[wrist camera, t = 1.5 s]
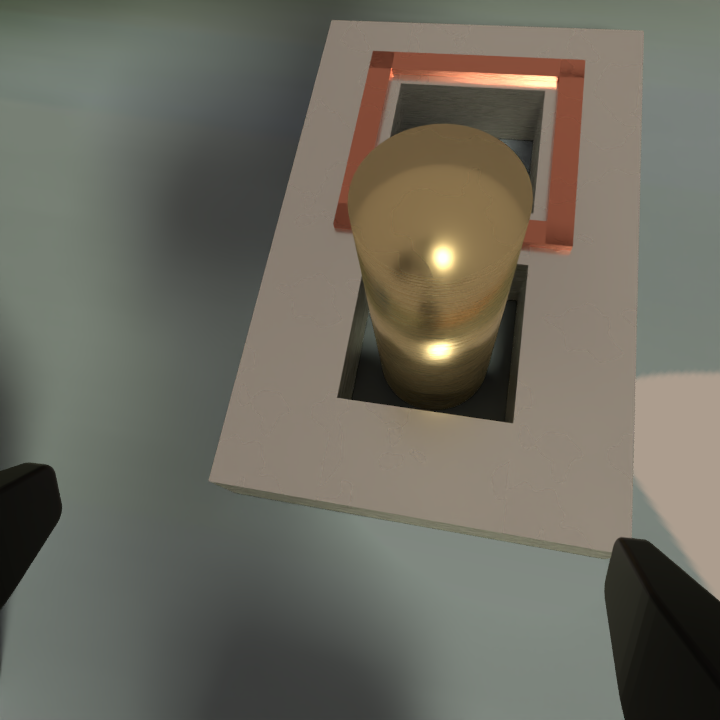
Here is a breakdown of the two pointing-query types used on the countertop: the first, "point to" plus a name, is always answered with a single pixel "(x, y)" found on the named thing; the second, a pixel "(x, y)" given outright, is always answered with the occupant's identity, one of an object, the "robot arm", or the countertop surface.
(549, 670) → the countertop surface
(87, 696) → the countertop surface
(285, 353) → the socket plate
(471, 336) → the brass peg
